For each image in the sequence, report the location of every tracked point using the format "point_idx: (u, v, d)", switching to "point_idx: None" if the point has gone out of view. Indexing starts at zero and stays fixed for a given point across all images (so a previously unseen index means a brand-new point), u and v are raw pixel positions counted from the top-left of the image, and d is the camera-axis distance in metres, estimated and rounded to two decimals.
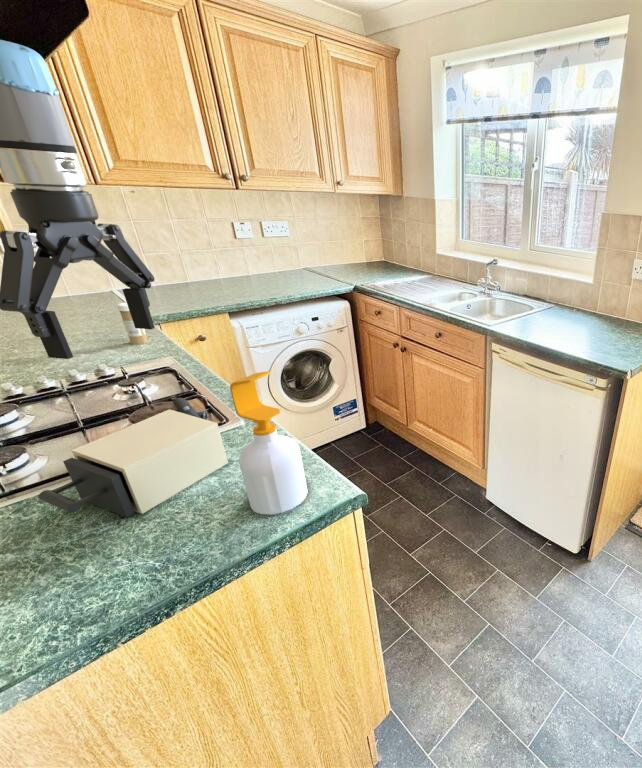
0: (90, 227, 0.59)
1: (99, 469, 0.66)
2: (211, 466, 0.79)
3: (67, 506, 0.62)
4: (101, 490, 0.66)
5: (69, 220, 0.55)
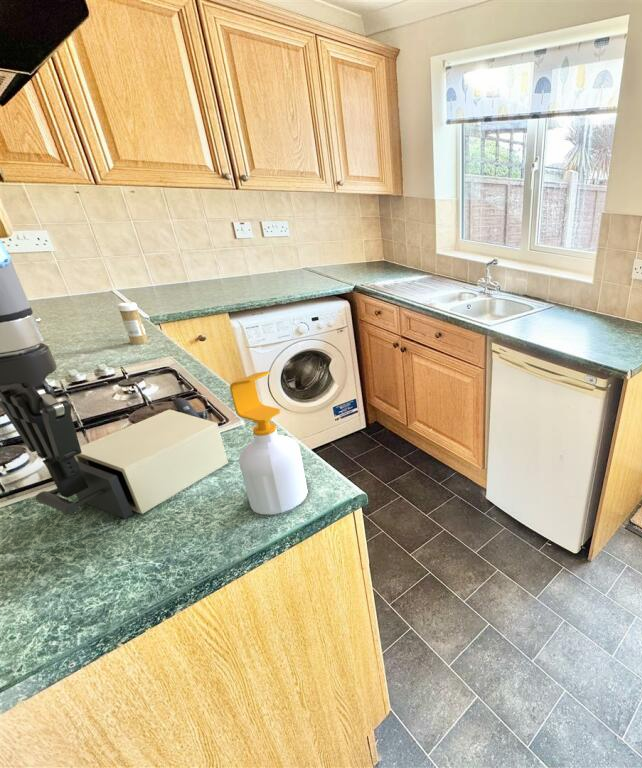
0: None
1: (97, 470, 0.66)
2: (211, 466, 0.79)
3: (64, 508, 0.61)
4: (99, 491, 0.65)
5: (55, 368, 0.59)
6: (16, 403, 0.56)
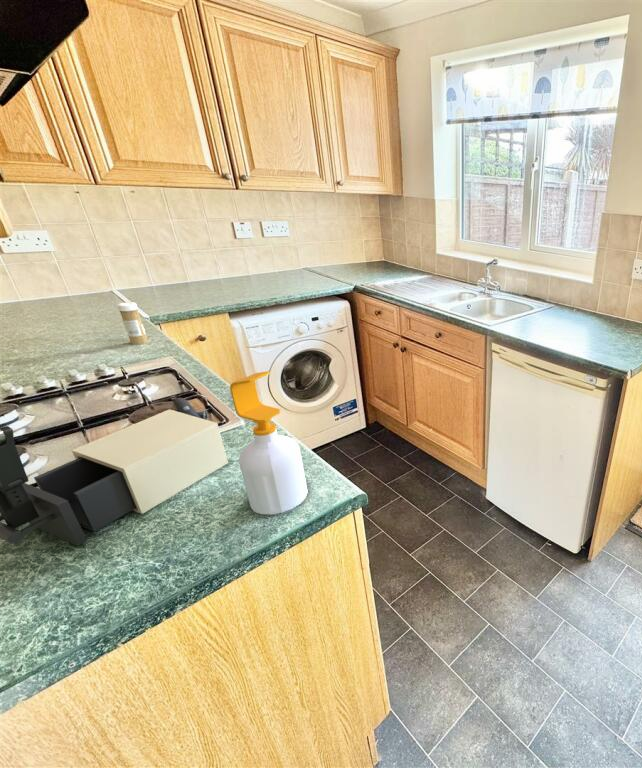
0: None
1: (46, 494, 0.60)
2: (211, 466, 0.79)
3: (7, 537, 0.56)
4: (48, 517, 0.60)
5: None
6: None
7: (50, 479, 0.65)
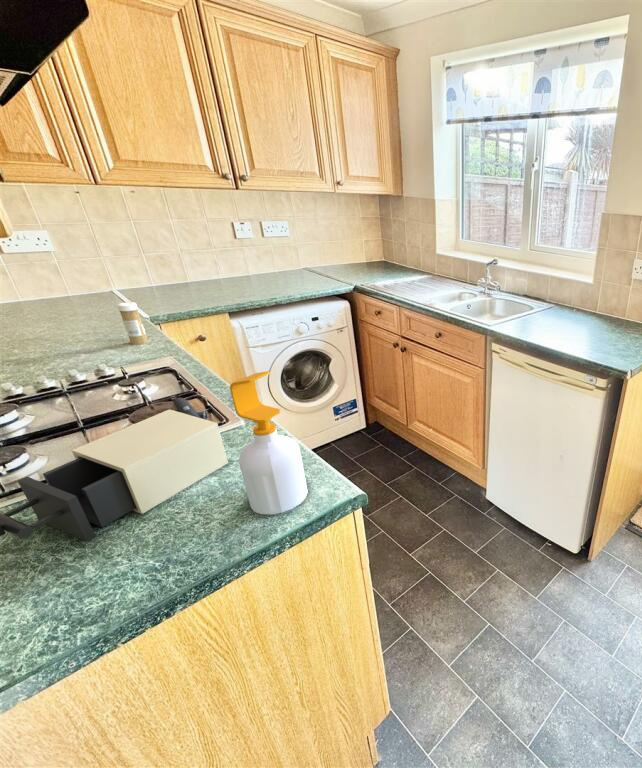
0: None
1: (55, 490, 0.61)
2: (211, 466, 0.79)
3: (17, 531, 0.57)
4: (57, 512, 0.61)
5: None
6: None
7: (58, 475, 0.66)
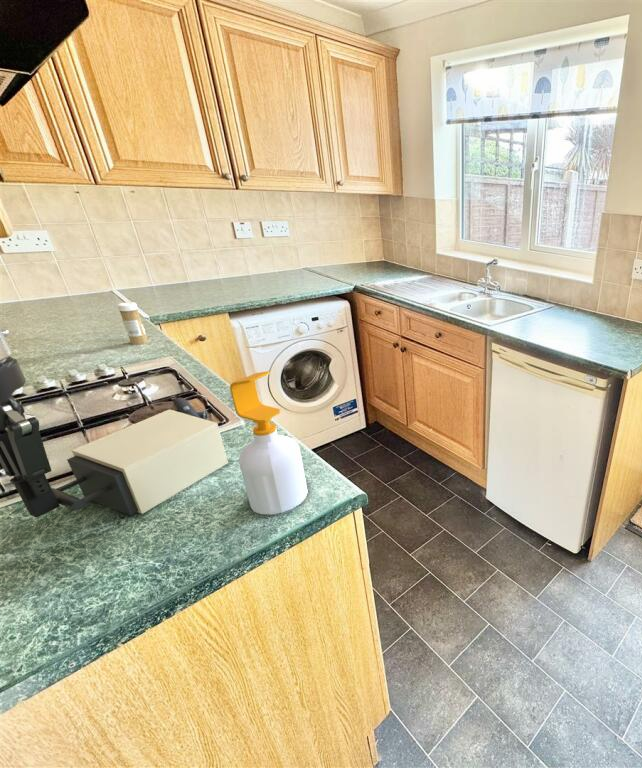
0: None
1: (103, 467, 0.67)
2: (211, 466, 0.79)
3: (71, 504, 0.62)
4: (105, 488, 0.66)
5: (24, 383, 0.56)
6: None
7: None
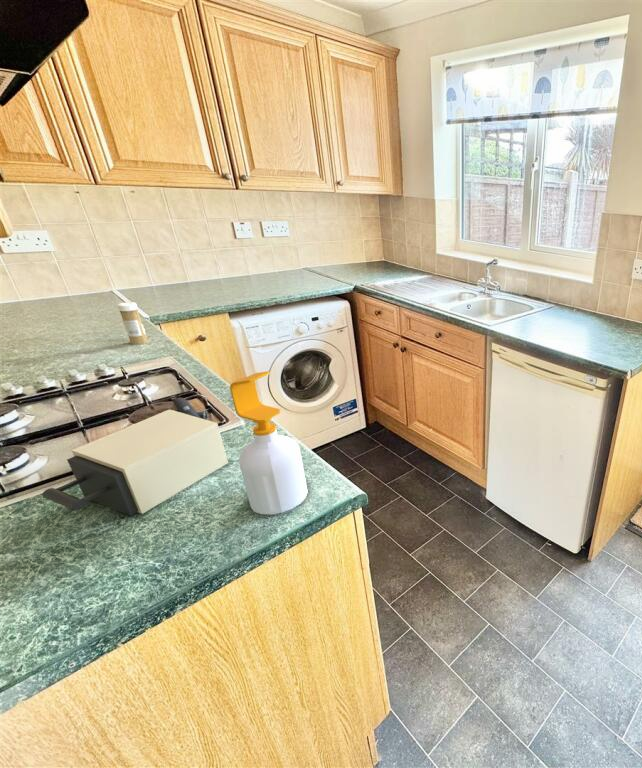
0: None
1: (103, 467, 0.67)
2: (211, 466, 0.79)
3: (71, 504, 0.62)
4: (105, 488, 0.66)
5: None
6: None
7: None
